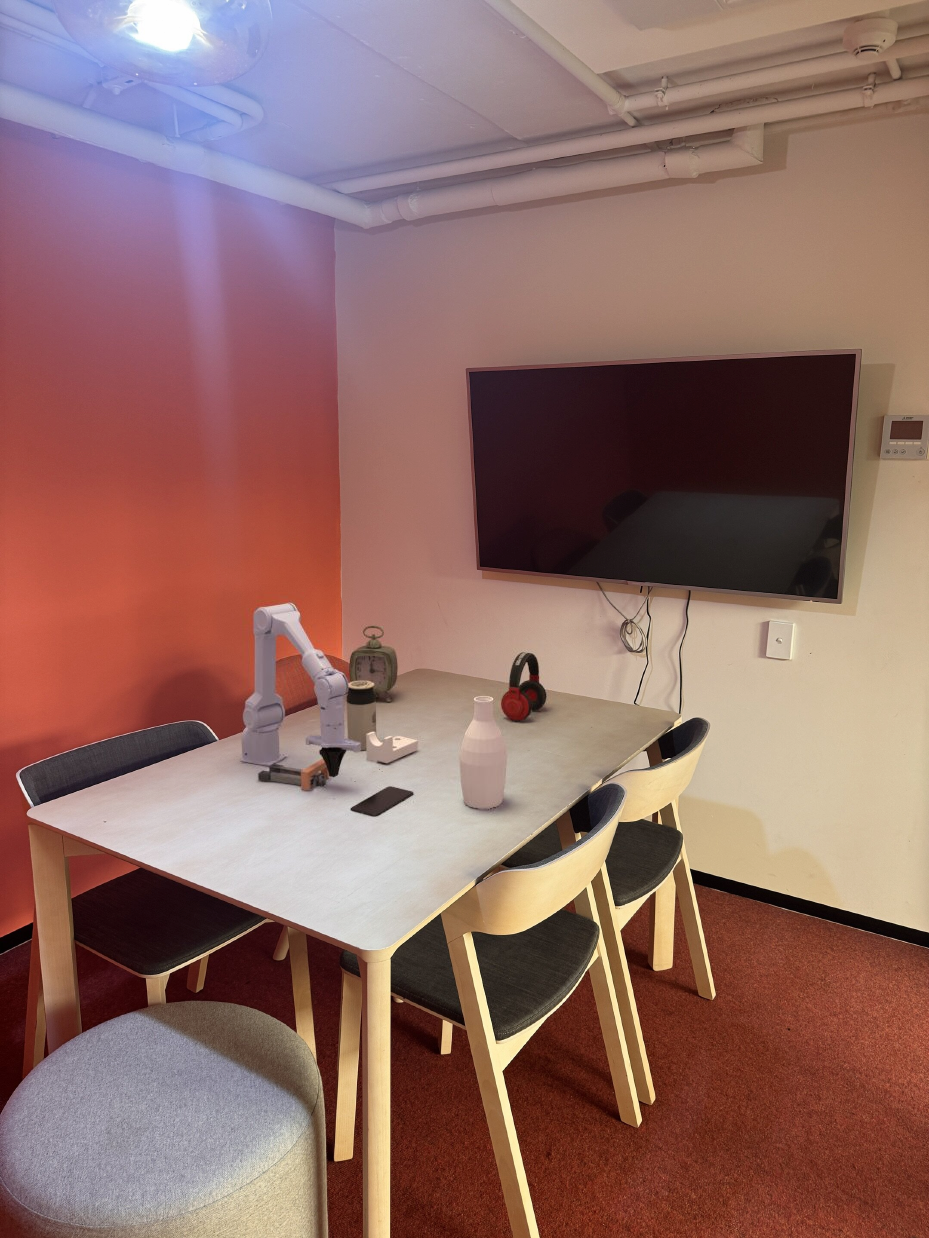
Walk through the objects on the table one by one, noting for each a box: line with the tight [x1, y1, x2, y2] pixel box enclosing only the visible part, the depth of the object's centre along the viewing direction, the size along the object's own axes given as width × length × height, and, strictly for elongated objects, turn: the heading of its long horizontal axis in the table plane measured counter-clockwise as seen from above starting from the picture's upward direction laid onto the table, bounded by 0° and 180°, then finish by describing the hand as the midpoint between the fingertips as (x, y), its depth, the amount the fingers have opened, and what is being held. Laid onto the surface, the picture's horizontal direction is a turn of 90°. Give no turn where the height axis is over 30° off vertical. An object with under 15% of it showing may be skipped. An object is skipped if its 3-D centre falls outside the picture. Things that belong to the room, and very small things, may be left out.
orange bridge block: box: [300, 758, 330, 791], centre depth 216 cm, size 2×10×4 cm, turn 157°
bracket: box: [366, 732, 419, 764], centre depth 235 cm, size 13×7×8 cm, turn 144°
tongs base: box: [268, 763, 327, 788], centre depth 219 cm, size 17×4×3 cm, turn 67°
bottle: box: [459, 695, 508, 810], centre depth 202 cm, size 11×11×25 cm
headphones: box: [500, 651, 547, 722], centre depth 270 cm, size 18×10×20 cm, turn 153°
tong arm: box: [257, 770, 315, 787], centre depth 216 cm, size 14×2×2 cm, turn 71°
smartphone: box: [350, 785, 414, 818], centre depth 205 cm, size 8×1×16 cm
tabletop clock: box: [348, 625, 399, 703], centre depth 286 cm, size 14×9×25 cm, turn 81°
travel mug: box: [346, 681, 377, 751], centre depth 242 cm, size 8×8×18 cm
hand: (333, 775), depth 213 cm, fingers closed
